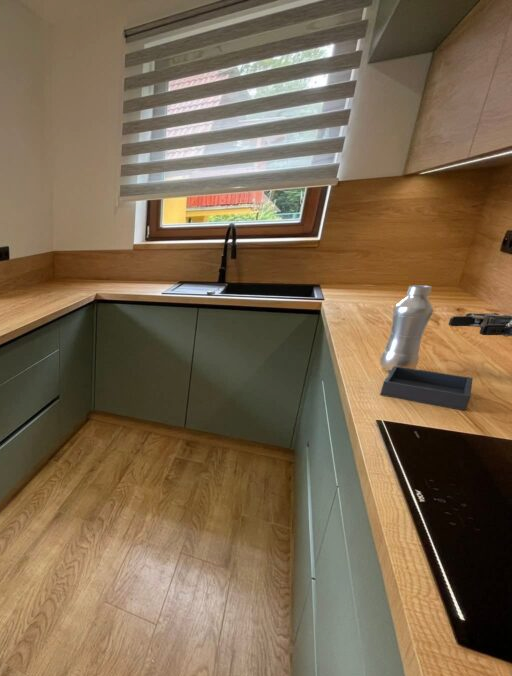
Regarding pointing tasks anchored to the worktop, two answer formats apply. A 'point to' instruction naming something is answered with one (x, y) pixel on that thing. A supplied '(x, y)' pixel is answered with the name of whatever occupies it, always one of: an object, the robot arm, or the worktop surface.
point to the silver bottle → (407, 329)
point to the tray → (428, 387)
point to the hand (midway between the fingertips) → (465, 325)
